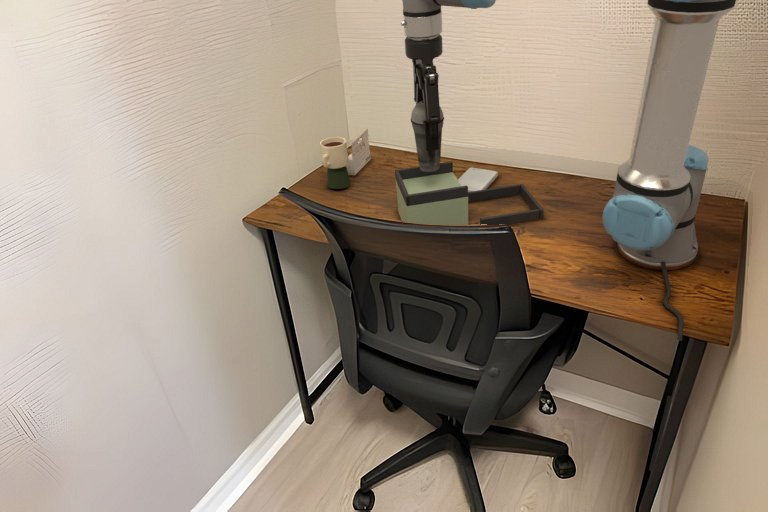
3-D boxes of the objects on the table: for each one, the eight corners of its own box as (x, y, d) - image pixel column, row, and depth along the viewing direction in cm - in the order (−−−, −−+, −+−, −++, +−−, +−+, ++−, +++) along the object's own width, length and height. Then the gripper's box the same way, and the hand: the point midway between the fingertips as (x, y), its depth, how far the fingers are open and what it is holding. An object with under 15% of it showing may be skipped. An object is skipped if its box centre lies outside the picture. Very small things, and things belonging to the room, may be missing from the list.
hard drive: (469, 166, 161) (450, 186, 152) (498, 171, 157) (479, 191, 149) (469, 172, 162) (450, 192, 153) (498, 177, 158) (479, 197, 150)
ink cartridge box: (347, 175, 167) (343, 143, 162) (364, 159, 175) (360, 127, 170) (355, 176, 166) (351, 143, 161) (371, 159, 174) (368, 128, 169)
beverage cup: (412, 175, 132) (406, 86, 121) (414, 161, 138) (409, 75, 127) (445, 174, 131) (442, 84, 120) (446, 160, 137) (443, 73, 126)
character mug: (338, 176, 167) (332, 132, 160) (360, 179, 164) (354, 135, 157) (317, 193, 159) (310, 148, 152) (340, 197, 156) (333, 151, 149)
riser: (543, 219, 138) (546, 174, 132) (409, 240, 136) (405, 196, 129) (522, 192, 150) (524, 150, 144) (398, 211, 147) (394, 169, 141)
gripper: (395, 27, 126) (403, 128, 139) (415, 50, 109) (421, 163, 122) (430, 22, 127) (434, 124, 140) (454, 45, 110) (456, 158, 123)
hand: (428, 142), depth 131 cm, fingers closed on beverage cup, 7 cm apart
